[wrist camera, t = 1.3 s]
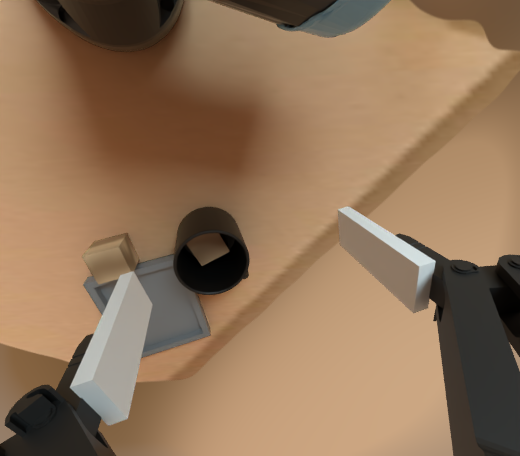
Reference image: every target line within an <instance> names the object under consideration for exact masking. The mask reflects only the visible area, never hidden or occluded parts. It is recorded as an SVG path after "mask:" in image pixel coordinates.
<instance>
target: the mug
mask: <svg viewBox="0 0 520 456" xmlns="http://www.w3.org/2000/svg"><path fill="white" fill-rule="evenodd" d="M208 233H220V234H224V235H225V237H226V239H227V242H228V246H229V250H230V252H228V253H226V254H224V255H222V256H221V257H219V258H217V259H215V260H213V261H211V262H209V263H207V264H205V265H203V266H201V264H200V263H199V261H198V260H197V259H196V257H195V256H194V254H193V253H192V251H191V250H190V249H189V247H188V246H187V243H188V242H189V241H190V240H192V239H193V238H195V237H197V236H200V235H203V234H208ZM248 267H249V253H248V250H247V247H246V245H245V242H244V240H243V237H242V235H241V233H240V230H239V228H238V225H237V223H236V221H235V220H234V218H233V217H232V216H231V215H230V214H229V213H227V212H226V211H224V210H222V209H219V208H214V207H204V208H200V209H197V210H194V211H192V212H191V213H189V214H188V215H187V216H186V217H185V218H184V219H183V220H182V222H181V223H180V225H179V228H178V233H177V240H176V246H175V253H174V260H173V268H174V272H175V275H176V277H177V279H178V280H179V282H180V283H181V284H182V285H183V286H184V287H185V288H187V289H188V290H190V291H192V292H195V293H198V294H203V295H215V294H220V293H223V292H226V291H228V290H230V289H232V288H233V287H235V286H236V285H237V284H238V283H240V281H241V280H242V279H246V278H247V277H248V276H249V274H248Z"/></svg>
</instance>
